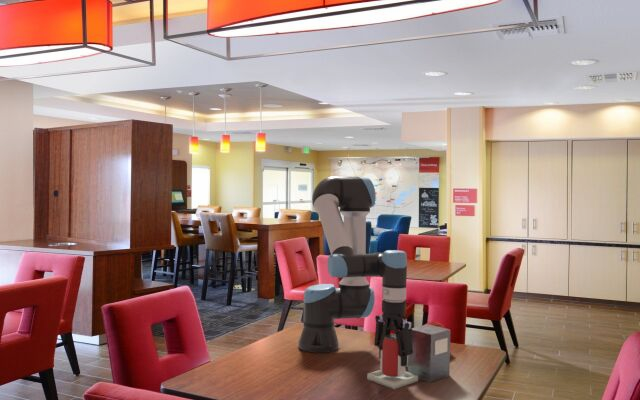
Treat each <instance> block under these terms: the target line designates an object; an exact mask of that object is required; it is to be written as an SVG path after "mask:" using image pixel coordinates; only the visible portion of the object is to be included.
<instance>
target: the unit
mask: <svg viewBox="0 0 640 400" xmlns="http://www.w3.org/2000/svg"><path fill="white" fill-rule="evenodd" d="M445 328H446V327H445ZM445 328H441V327H437V326H433V325H429V324H427V325H425V324H423V325H419V326H415V327H412V346H413V354H410V355H408V367H407V372H408V373H411V374H414V375H417V376H418V380H419V379H420V380H422V381H424V382H428V383H433V382H435V381H438V380H440V379H444V378H446V377H450V367H451V366H450V363H451V361H450V360H451V359H450V358H451V354H450V353H451V329H449V328H446V329H445Z"/></svg>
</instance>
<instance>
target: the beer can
mask: <svg viewBox="0 0 640 400" xmlns="http://www.w3.org/2000/svg"><path fill="white" fill-rule="evenodd" d="M384 337H385V338H384V340H383V353H382V373H383V374H384V375H386V376H389V377H398V355H400V351H399V347H398V343H397V338H396V334H393V333H390V334H389V335H385V336H384Z"/></svg>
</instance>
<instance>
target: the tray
mask: <svg viewBox="0 0 640 400" xmlns="http://www.w3.org/2000/svg"><path fill="white" fill-rule="evenodd" d="M366 375H367V377H366V378H367V380H368V381H370V382H373V383H376V384H379V385H382V386H384V387H387V388H389V389H392V390H397V389H399V388H402V387H405V386H408V385H411V384H414V383H417V382H418V381H419V378H418V376H417V375H414V374H411V373H408V371H405V375H404V376H401V377H389V376H386V375H384V374H383V373H382V371H381V370H380V369H378V370H376V371H372V372H368V373H366Z"/></svg>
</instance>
